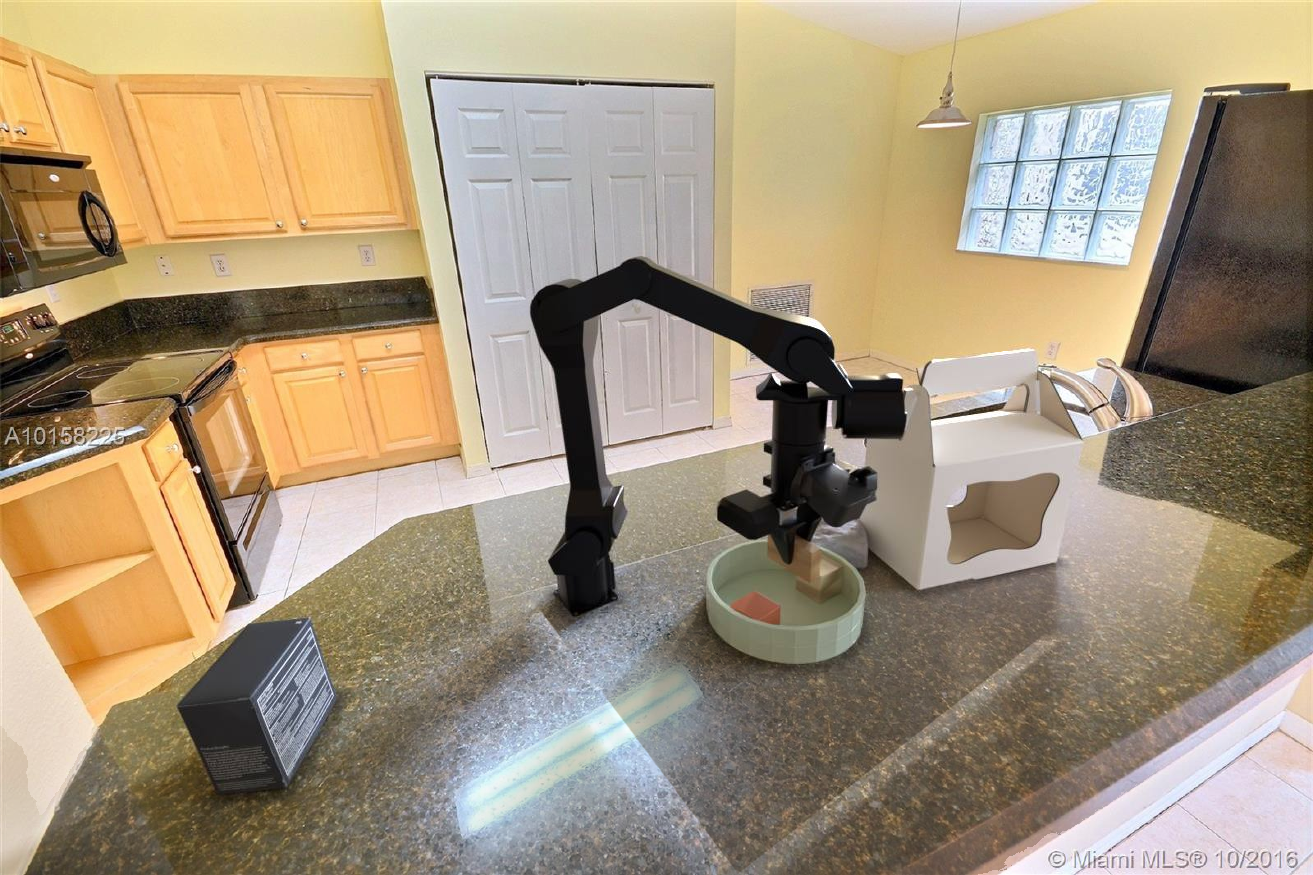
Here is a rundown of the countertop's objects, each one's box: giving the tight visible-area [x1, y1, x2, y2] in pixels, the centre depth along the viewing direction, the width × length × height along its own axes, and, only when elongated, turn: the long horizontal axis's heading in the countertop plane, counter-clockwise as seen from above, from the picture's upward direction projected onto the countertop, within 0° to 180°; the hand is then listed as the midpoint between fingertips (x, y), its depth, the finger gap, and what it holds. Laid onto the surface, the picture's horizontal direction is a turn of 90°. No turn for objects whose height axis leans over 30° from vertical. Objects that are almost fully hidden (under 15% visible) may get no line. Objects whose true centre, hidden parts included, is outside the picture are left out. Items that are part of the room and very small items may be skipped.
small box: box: [175, 616, 339, 796], centre depth 53 cm, size 11×6×10 cm, turn 5°
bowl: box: [705, 538, 867, 665], centre depth 69 cm, size 18×18×5 cm
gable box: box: [860, 348, 1085, 591], centre depth 76 cm, size 22×13×28 cm, turn 105°
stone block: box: [810, 518, 869, 570], centre depth 82 cm, size 12×5×10 cm
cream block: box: [796, 553, 844, 605], centre depth 72 cm, size 4×4×4 cm
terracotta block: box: [730, 590, 781, 625], centre depth 65 cm, size 4×4×4 cm
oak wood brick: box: [767, 534, 821, 583], centre depth 68 cm, size 2×7×4 cm, turn 33°
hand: (792, 560), depth 68 cm, fingers closed on oak wood brick, 1 cm apart
